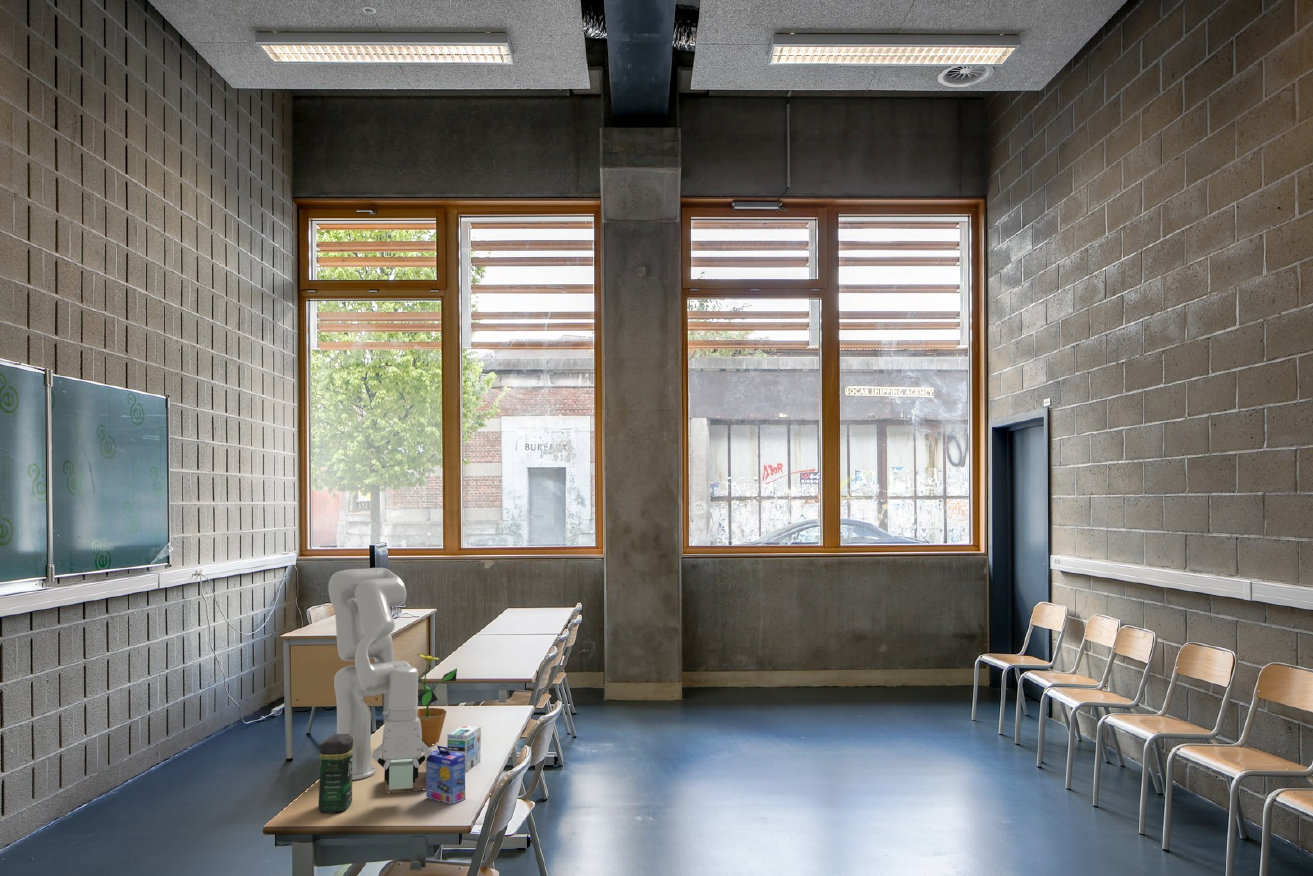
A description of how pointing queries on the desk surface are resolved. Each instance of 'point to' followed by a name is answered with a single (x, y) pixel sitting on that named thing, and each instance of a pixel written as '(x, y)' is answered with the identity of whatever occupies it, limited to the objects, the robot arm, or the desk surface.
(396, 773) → the sage block
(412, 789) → the walnut block
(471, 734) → the light bulb box
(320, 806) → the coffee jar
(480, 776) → the desk surface
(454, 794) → the ink cartridge box
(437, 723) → the potted plant
